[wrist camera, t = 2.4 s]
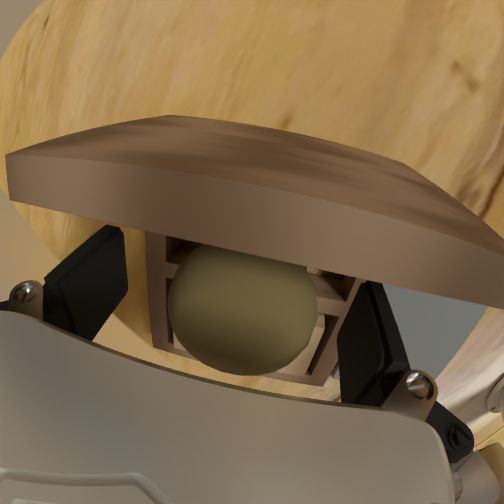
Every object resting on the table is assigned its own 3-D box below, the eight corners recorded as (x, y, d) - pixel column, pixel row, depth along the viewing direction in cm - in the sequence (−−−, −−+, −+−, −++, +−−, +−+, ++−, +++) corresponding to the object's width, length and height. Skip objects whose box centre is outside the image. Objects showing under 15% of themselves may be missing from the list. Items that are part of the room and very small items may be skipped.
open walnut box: (403, 163, 15) (531, 266, 5) (322, 364, 24) (318, 492, 13) (169, 115, 16) (5, 155, 6) (164, 327, 25) (104, 439, 14)
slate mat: (486, 299, 18) (489, 303, 18) (427, 382, 23) (428, 386, 23) (382, 274, 19) (384, 279, 18) (332, 373, 24) (332, 378, 24)
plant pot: (489, 457, 36) (498, 508, 22) (444, 470, 38) (449, 528, 24) (525, 425, 29) (540, 483, 15) (480, 441, 31) (492, 509, 17)
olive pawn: (337, 226, 18) (365, 365, 8) (261, 270, 20) (224, 410, 11) (281, 146, 16) (247, 210, 6) (204, 202, 18) (109, 310, 9)
